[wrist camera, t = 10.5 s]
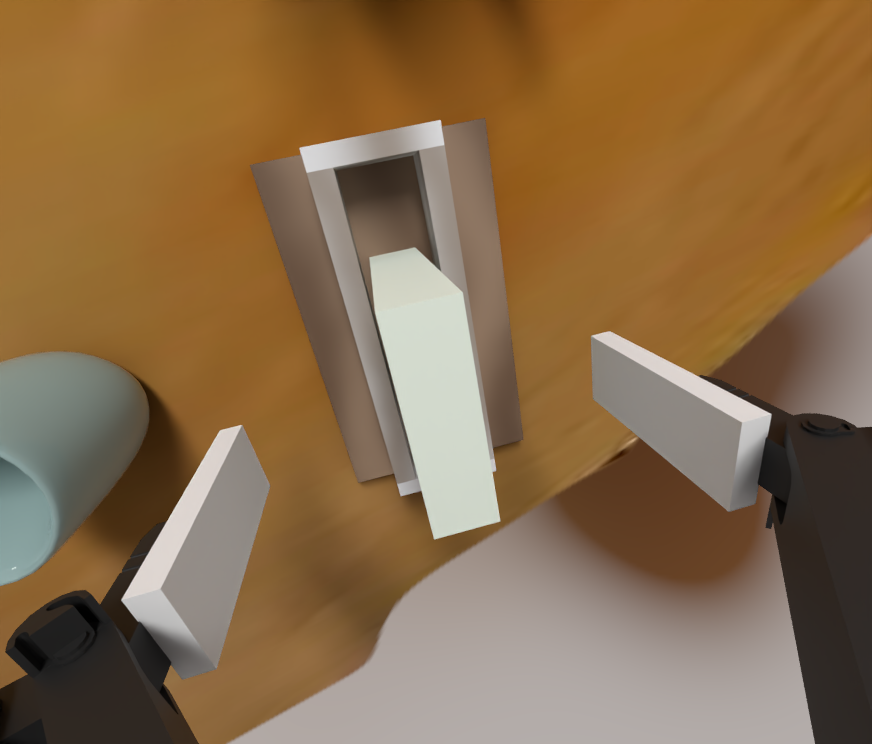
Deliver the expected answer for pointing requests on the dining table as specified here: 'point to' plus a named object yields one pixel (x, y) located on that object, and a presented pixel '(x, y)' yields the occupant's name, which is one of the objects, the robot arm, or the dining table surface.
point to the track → (380, 234)
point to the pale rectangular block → (436, 389)
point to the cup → (60, 449)
